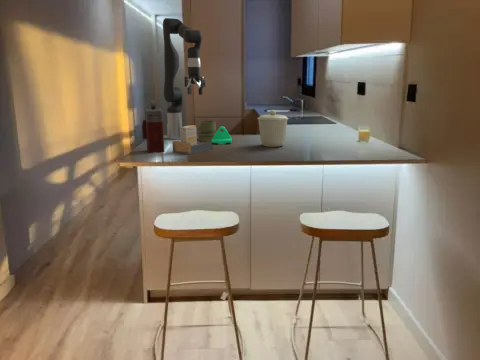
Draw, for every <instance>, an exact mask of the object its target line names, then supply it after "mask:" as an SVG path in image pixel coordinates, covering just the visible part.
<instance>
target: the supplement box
mask: <svg viewBox="0 0 480 360" xmlns="http://www.w3.org/2000/svg"><path fill="white" fill-rule="evenodd" d="M180 132H181V139H180V142H187V143H191V146H192V145H197V141H198V140H197V135H198V134H197V126H196V125H193V124H192V125H191V124H190V125H185V126H182V127H180Z"/></svg>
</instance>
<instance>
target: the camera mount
mask: <svg viewBox="0 0 480 360" xmlns="http://www.w3.org/2000/svg"><path fill="white" fill-rule="evenodd" d="M221 130H223V131H221ZM215 132H216V134H215V135H214V137H213V139H212V141H211V142H212V144H217V145H226V144H232V143H233V142H232V141H233V140H232V139H233V138H232V136H231V135H230V133H229V132H228V130H227V129H226V127H225V126H219V127H218V129H216V131H215Z"/></svg>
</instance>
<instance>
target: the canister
mask: <svg viewBox="0 0 480 360" xmlns="http://www.w3.org/2000/svg"><path fill="white" fill-rule="evenodd" d="M257 120H258V126H259V134H260V135H259V136H260V143H261V145H262V146H264V147H266V148H267V147H268V148H277V147H282V146H284V143H285V141H286V134H287V133H286V132H287V125H288V120H289V117H287V115H285V114H277V110H275V109H272V110H270V111H269V114H264V115H263V114H261V115H260V116H259V117H257Z"/></svg>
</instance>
